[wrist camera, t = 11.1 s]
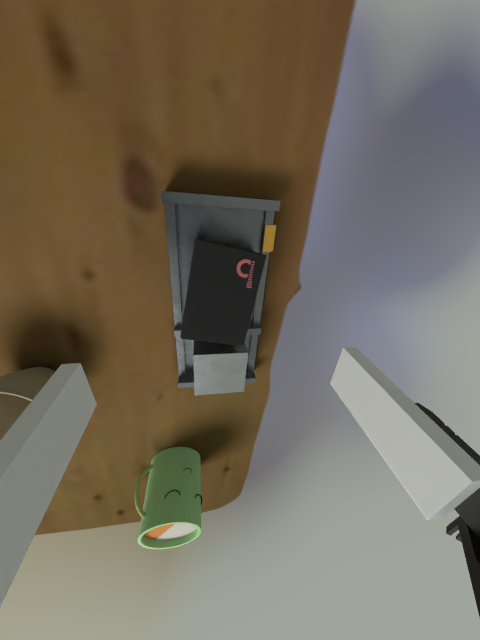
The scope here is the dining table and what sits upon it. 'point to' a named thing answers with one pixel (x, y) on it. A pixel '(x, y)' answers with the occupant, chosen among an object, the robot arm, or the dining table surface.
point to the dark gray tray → (182, 228)
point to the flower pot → (19, 393)
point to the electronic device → (221, 293)
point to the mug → (171, 499)
